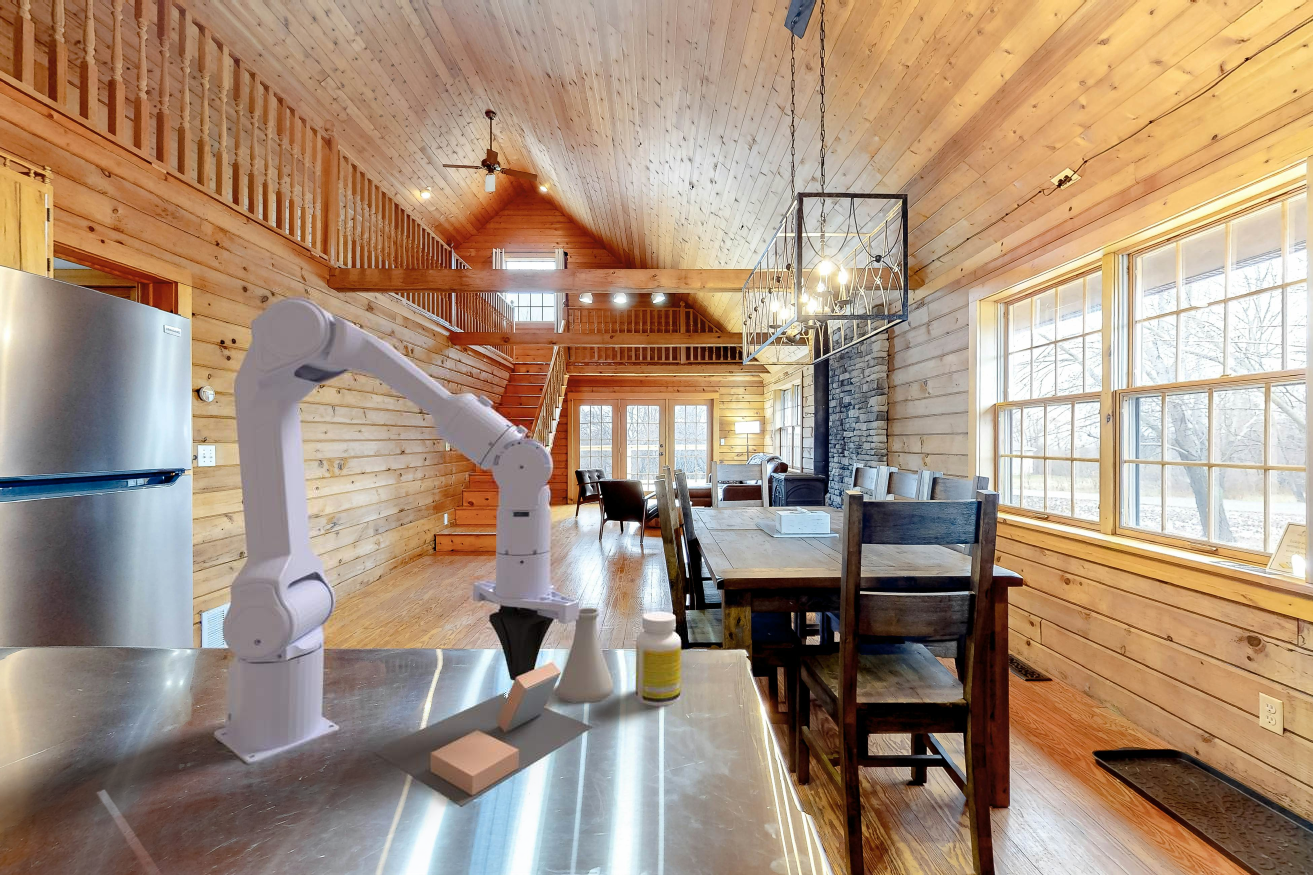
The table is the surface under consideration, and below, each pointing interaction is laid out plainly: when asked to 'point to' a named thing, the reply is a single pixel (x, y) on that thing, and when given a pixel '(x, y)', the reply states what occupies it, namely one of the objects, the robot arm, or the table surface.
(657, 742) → the table surface
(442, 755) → the tile
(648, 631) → the supplement bottle
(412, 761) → the mat
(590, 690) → the flask
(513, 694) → the tile
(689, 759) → the table surface
